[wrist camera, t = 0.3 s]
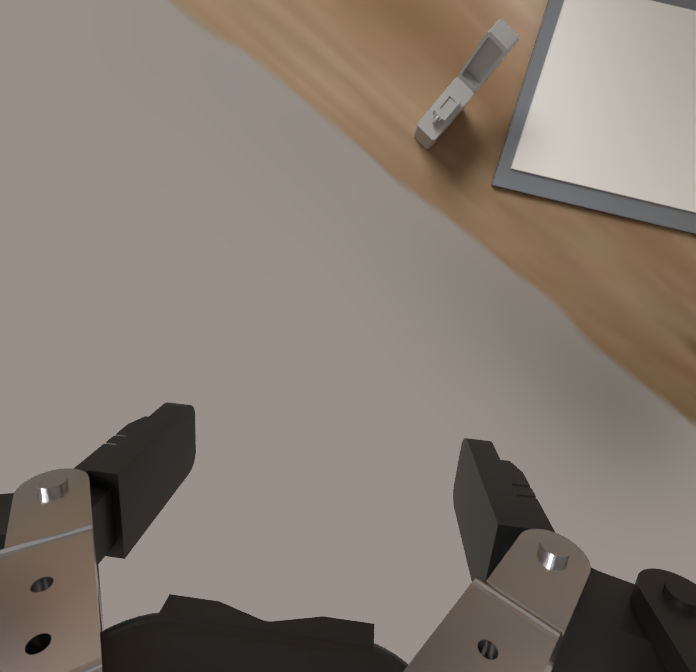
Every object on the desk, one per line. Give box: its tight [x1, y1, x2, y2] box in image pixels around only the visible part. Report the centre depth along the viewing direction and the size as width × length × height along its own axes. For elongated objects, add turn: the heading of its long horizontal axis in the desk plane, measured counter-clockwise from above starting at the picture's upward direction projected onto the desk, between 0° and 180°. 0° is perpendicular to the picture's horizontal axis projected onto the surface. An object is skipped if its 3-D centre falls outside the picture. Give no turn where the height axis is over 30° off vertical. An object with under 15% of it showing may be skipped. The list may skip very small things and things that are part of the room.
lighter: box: [414, 19, 519, 149], centre depth 30 cm, size 7×2×8 cm, turn 139°
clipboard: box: [491, 0, 696, 234], centre depth 32 cm, size 16×20×2 cm
